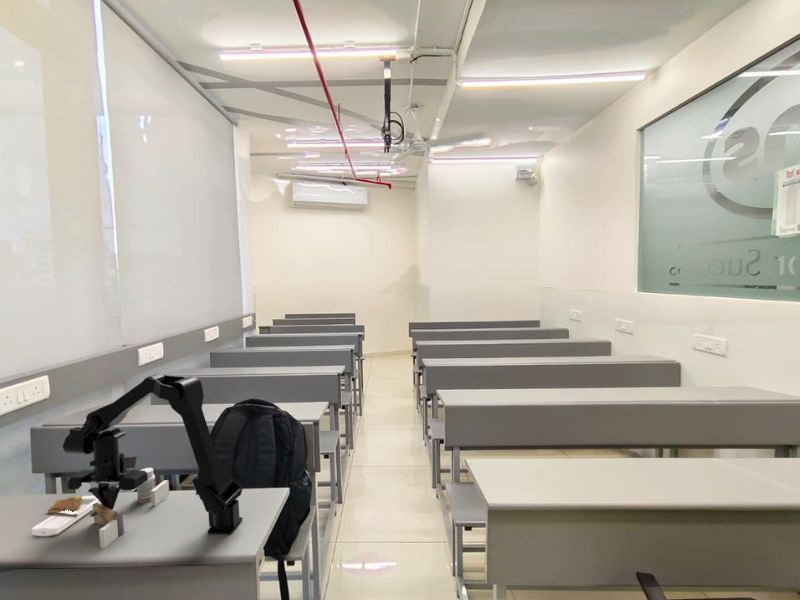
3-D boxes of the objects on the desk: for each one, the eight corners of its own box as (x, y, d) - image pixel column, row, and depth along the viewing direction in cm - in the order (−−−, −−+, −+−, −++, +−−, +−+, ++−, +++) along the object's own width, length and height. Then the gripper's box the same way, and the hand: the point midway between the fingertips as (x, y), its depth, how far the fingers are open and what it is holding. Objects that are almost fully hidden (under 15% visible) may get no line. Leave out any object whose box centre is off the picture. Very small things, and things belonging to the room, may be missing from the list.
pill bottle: (158, 497, 123) (156, 470, 123) (140, 504, 120) (138, 476, 119) (153, 492, 127) (151, 465, 126) (135, 498, 123) (133, 471, 123)
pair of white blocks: (170, 494, 125) (169, 478, 124) (106, 548, 100) (104, 528, 100) (164, 494, 125) (163, 478, 125) (99, 547, 100) (97, 527, 100)
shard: (78, 517, 115) (77, 511, 115) (42, 526, 111) (42, 519, 111) (84, 499, 124) (83, 494, 124) (51, 507, 120) (50, 501, 120)
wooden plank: (118, 529, 107) (117, 512, 107) (109, 534, 105) (108, 516, 105) (98, 518, 112) (97, 502, 112) (88, 523, 110) (87, 506, 110)
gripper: (159, 442, 119) (162, 495, 120) (98, 441, 120) (101, 494, 121) (131, 459, 108) (134, 517, 108) (64, 458, 109) (68, 516, 110)
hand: (110, 510), depth 112 cm, fingers closed
